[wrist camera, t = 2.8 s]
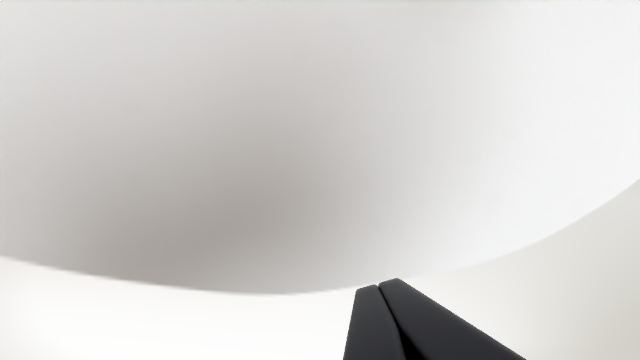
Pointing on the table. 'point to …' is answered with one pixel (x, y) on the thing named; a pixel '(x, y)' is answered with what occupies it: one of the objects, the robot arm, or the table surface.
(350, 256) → the table surface
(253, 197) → the table surface
